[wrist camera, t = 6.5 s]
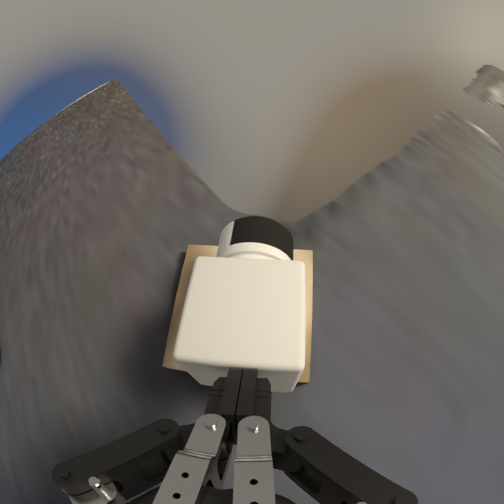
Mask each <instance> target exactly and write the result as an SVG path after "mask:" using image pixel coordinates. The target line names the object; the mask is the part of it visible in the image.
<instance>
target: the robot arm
mask: <svg viewBox="0 0 504 504" xmlns="http://www.w3.org/2000/svg"><path fill="white" fill-rule="evenodd" d="M0 355H1V354H0ZM233 444H236V445H237V457H236V458H235V468H234V488H233V489H225V490H223V485H224V481H225V477H226V474H227V470H228V467H229V463H230V460H231V451H232V446H233ZM273 468H275V469H279V470H283V471H284V473H285V474H286V475H287V476H288V477H289V478H290V479H291V480H292V481H293V482H295V483H296V484H297V485H298V486H299V487H300V488H302V489H303V490H304V491H305V492H306V493H308V494H309V495H310V496H311V497H313V498H314V499H315V500H316V501H318V502H319V503H320V504H418V499H417V497H416V496H415V494H414V493H412V492H410V491H408V490H407V489H405V488H403V487H401V486H399V485H397V484H396V483H394V482H392V481H390V480H389V479H387V478H385V477H384V476H382V475H380V474H379V473H377V472H375V471H374V470H372V469H370V468H369V467H367V466H366V465H364V464H362V463H361V462H359V461H358V460H356V459H355V458H353V457H352V456H350V455H349V454H347V453H346V452H344V451H343V450H341V449H340V448H338V447H337V446H335V445H334V444H332V443H331V442H330V441H328V440H327V439H325V438H324V437H323V436H321V435H320V434H318V433H317V432H316V431H314V430H313V429H311V428H309V427H305V426H298V427H294V428H292V429H290V430H289V431H287V430H283V429H279V428H277V427H276V426H274V425H273V424H272V422H271V383H270V382H269V380H268V379H267V378H258V369H239V368H229V370H228V374H227V377H219V378H218V379H217V380H216V381H215V382H214V383H213V386H212V391H211V393H210V396H209V400H208V403H207V406H206V410H205V413H204V415H203V416H201V417H200V418H198V420H197V421H196V423H194V424H190V425H183V426H178V424H177V423H176V422H175V421H173V420H170V419H160V420H157V421H155V422H153V423H151V424H149V425H147V426H145V427H143V428H141V429H139V430H137V431H135V432H133V433H131V434H129V435H127V436H125V437H123V438H121V439H118V440H116V441H114V442H112V443H110V444H107V445H105V446H103V447H100V448H98V449H96V450H93V451H91V452H88V453H86V454H83V455H81V456H78V457H76V458H73V459H71V460H68V461H65V462H62V463H60V464H58V465H56V466H55V467H54V468H53V470H52V478H53V480H54V481H55V482H56V483H57V484H58V485H59V486H60V487H61V488H62V490H63V491H64V492H65V493H66V494H67V495H68V496H69V497H70V499H71V501H72V503H73V504H125V500H127V499H129V498H131V497H133V496H135V495H137V494H139V493H141V492H143V491H145V490H147V489H149V488H151V487H153V486H155V485H157V484H158V483H160V482H162V481H163V482H162V484H161V486H160V487H157V488H155V489H153V490H151V491H149V492H147V493H145V494H144V495H142V496H140V497H138V498H136V499H134V500H133V501H131V502H129V503H127V504H295V503H294V502H292V501H291V500H289V499H287V498H286V497H283V496H281V495H278V494H275V490H274V476H273Z"/></svg>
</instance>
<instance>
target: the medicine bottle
mask: <svg viewBox="0 0 504 504" xmlns="http://www.w3.org/2000/svg"><path fill="white" fill-rule="evenodd" d="M305 340H306V282H305V264H304V262H302V261H296V260H293V238H292V235H291V234H290V232H289V231H288V230H287V229H286V228H285V227H284V226H283V225H281V224H280V223H278V222H276V221H274V220H272V219H269V218H265V217H259V216H249V217H243V218H240V219H237V220H235V221H233V222H231V223H229V224H228V225H227V226H226V227H225V228H224V229H223V231H222V233H221V236H220V241H219V245H218V250H217V255H216V257H207V256H199V257H197V258H196V259H195V262H194V266H193V270H192V274H191V278H190V282H189V286H188V290H187V294H186V298H185V302H184V306H183V310H182V315H181V319H180V323H179V328H178V332H177V337H176V341H175V346H174V350H173V358H174V359H175V360H176V361H177V362H178V363H179V364H180V365H181V366H182V367H183V368H184V369H185V370H186V371H187V372H188V373H189V374H190V375H191V376H192V377H193V378H194V379H195V380H197V381H198V382H199V383H200V384H202V385H207V386H213V383H214V382H215V381H216V380H217V379H218V378H219V377H227V374H228V370H229V368H239V369H258V378H267V379H268V380H269V382H270V383H271V392H292V391H293V390H294V388H295V386H296V384H297V382H298V380H299V378H300V376H301V374H302V372H303V370H304V367H305Z"/></svg>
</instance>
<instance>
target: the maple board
mask: <svg viewBox="0 0 504 504" xmlns="http://www.w3.org/2000/svg"><path fill="white" fill-rule="evenodd" d="M217 250H218V246H205V245H188V249H187V253H186V257H185V261H184V265H183V269H182V273H181V277H180V282H179V286H178V291H177V295H176V300H175V304H174V309H173V313H172V318H171V323H170V328H169V333H168V338H167V343H166V349H165V354H164V360H163V365H162V366H163V367H166V368H169V369H174V370H180V371H185V372H187V371H186V370H185V369H184V368H183V367H182V366H181V365H180V364H179V363H178V362H177V361H176V360H175V359H174V358H173V350H174V346H175V341H176V337H177V332H178V328H179V323H180V319H181V315H182V310H183V306H184V302H185V298H186V294H187V290H188V286H189V282H190V278H191V274H192V270H193V266H194V262H195V259H196V258H197V257H199V256H207V257H216V255H217ZM293 260H296V261H302V262H304V264H305V282H306V340H305V367H304V370H303V372H302V374H301V376H300V378H299V380H298V382H297V383H309V374H310V356H311V332H312V283H313V260H312V250H293Z"/></svg>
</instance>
